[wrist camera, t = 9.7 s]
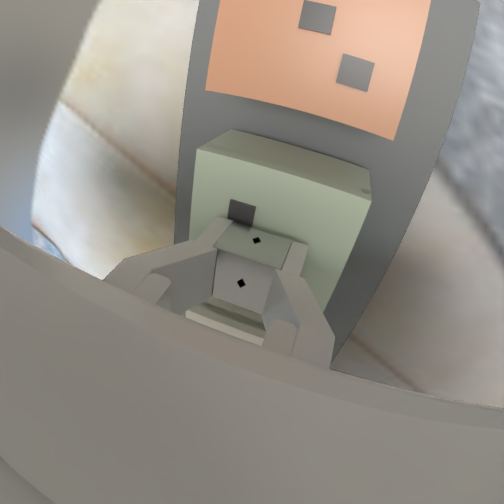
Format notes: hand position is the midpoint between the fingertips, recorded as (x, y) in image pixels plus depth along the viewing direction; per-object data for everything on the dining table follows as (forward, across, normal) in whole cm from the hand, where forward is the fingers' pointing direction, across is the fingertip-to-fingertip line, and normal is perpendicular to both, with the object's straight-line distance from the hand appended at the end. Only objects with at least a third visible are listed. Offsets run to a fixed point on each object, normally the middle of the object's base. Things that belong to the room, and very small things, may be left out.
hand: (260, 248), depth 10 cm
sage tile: (+3, 0, 0) cm, 3 cm away
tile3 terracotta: (+3, 0, -7) cm, 8 cm away
